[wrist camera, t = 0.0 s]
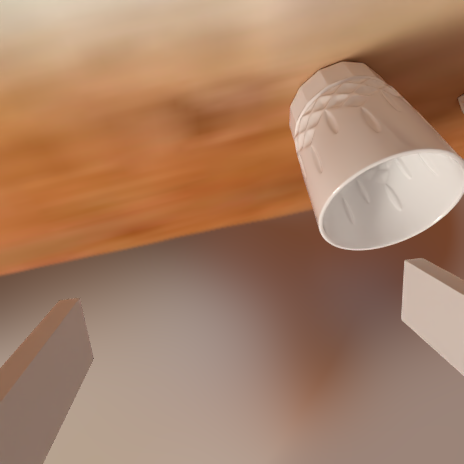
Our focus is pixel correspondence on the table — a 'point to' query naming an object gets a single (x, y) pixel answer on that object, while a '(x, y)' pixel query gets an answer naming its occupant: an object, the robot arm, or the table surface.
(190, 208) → the table surface
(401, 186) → the white cup
